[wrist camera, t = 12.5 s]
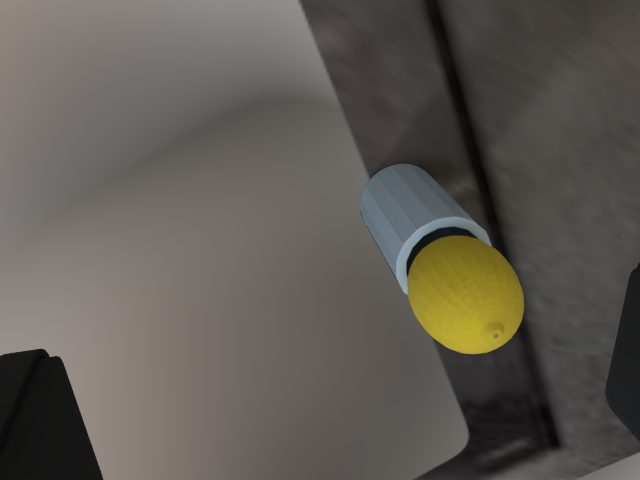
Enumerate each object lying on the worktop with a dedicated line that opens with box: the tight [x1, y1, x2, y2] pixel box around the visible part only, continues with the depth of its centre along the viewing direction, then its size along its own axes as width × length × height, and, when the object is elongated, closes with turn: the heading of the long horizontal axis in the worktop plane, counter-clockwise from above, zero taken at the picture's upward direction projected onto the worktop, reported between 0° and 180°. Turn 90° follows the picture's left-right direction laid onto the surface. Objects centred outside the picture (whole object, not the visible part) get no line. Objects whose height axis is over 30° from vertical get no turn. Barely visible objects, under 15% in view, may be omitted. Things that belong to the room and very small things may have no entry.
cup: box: [360, 164, 492, 295], centre depth 36 cm, size 6×6×9 cm
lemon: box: [407, 236, 524, 354], centre depth 30 cm, size 6×6×8 cm
